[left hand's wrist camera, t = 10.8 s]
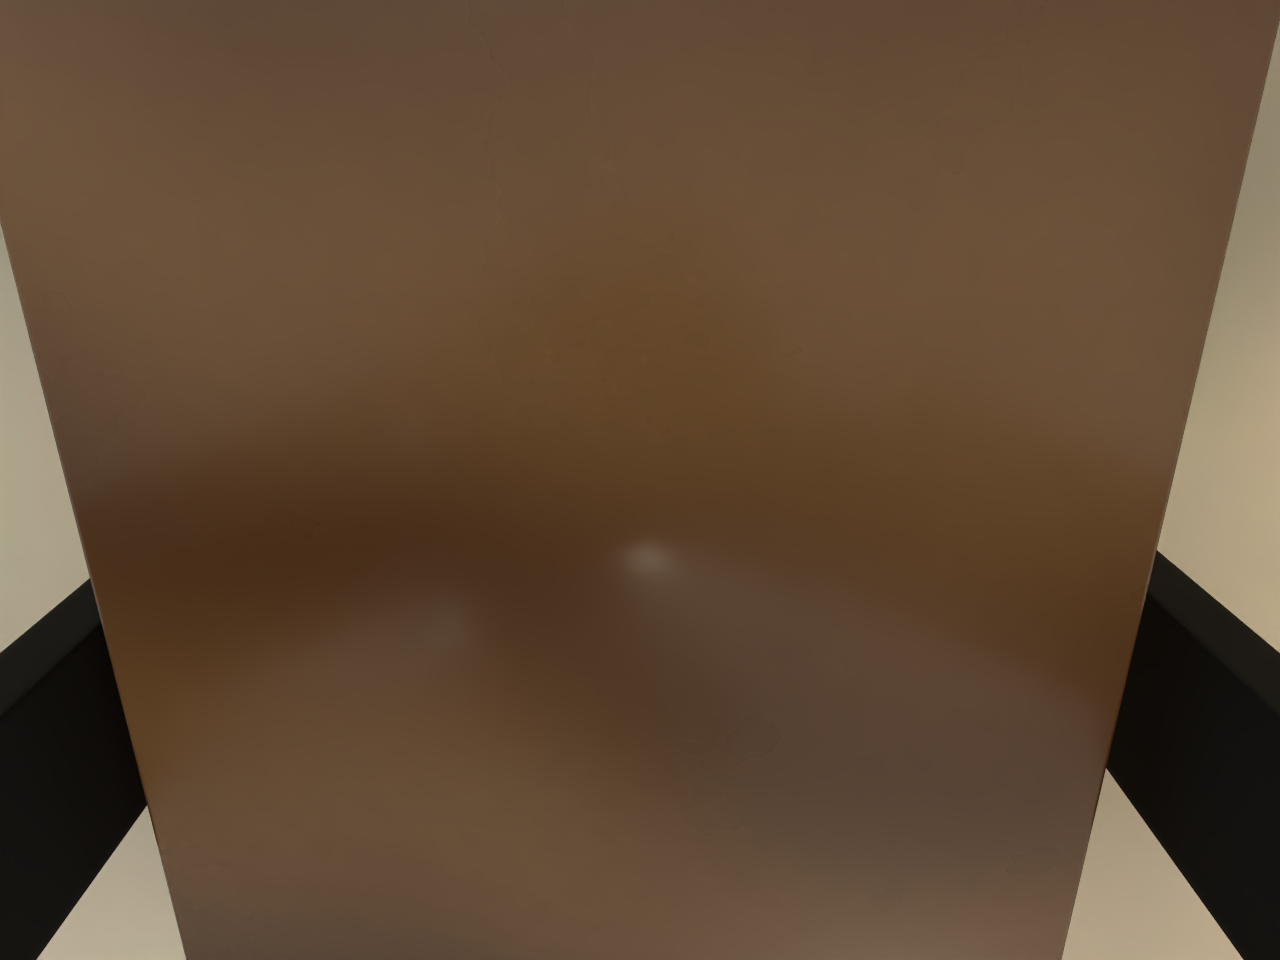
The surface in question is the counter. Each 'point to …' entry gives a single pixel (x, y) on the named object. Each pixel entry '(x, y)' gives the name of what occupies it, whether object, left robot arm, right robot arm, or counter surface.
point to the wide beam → (622, 448)
